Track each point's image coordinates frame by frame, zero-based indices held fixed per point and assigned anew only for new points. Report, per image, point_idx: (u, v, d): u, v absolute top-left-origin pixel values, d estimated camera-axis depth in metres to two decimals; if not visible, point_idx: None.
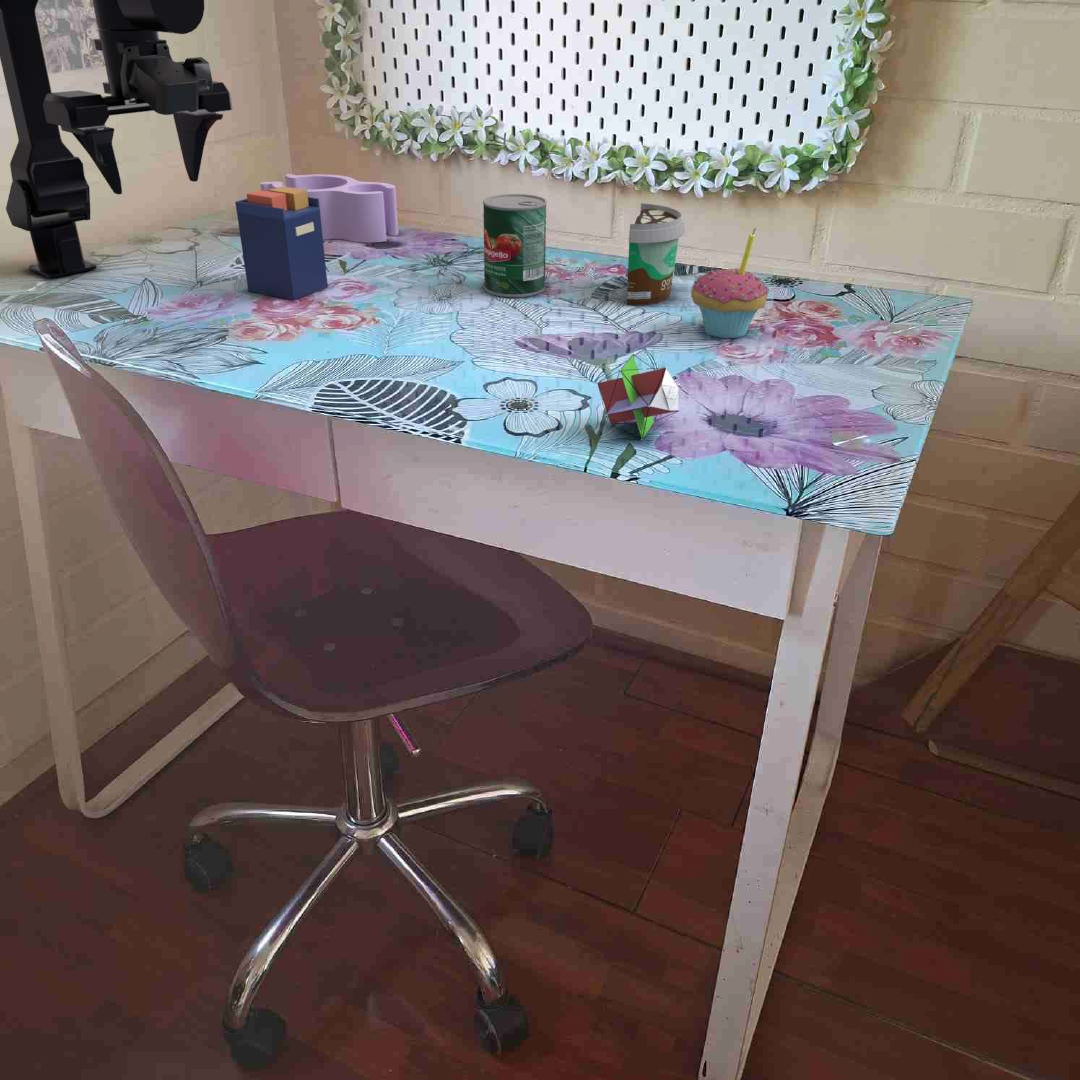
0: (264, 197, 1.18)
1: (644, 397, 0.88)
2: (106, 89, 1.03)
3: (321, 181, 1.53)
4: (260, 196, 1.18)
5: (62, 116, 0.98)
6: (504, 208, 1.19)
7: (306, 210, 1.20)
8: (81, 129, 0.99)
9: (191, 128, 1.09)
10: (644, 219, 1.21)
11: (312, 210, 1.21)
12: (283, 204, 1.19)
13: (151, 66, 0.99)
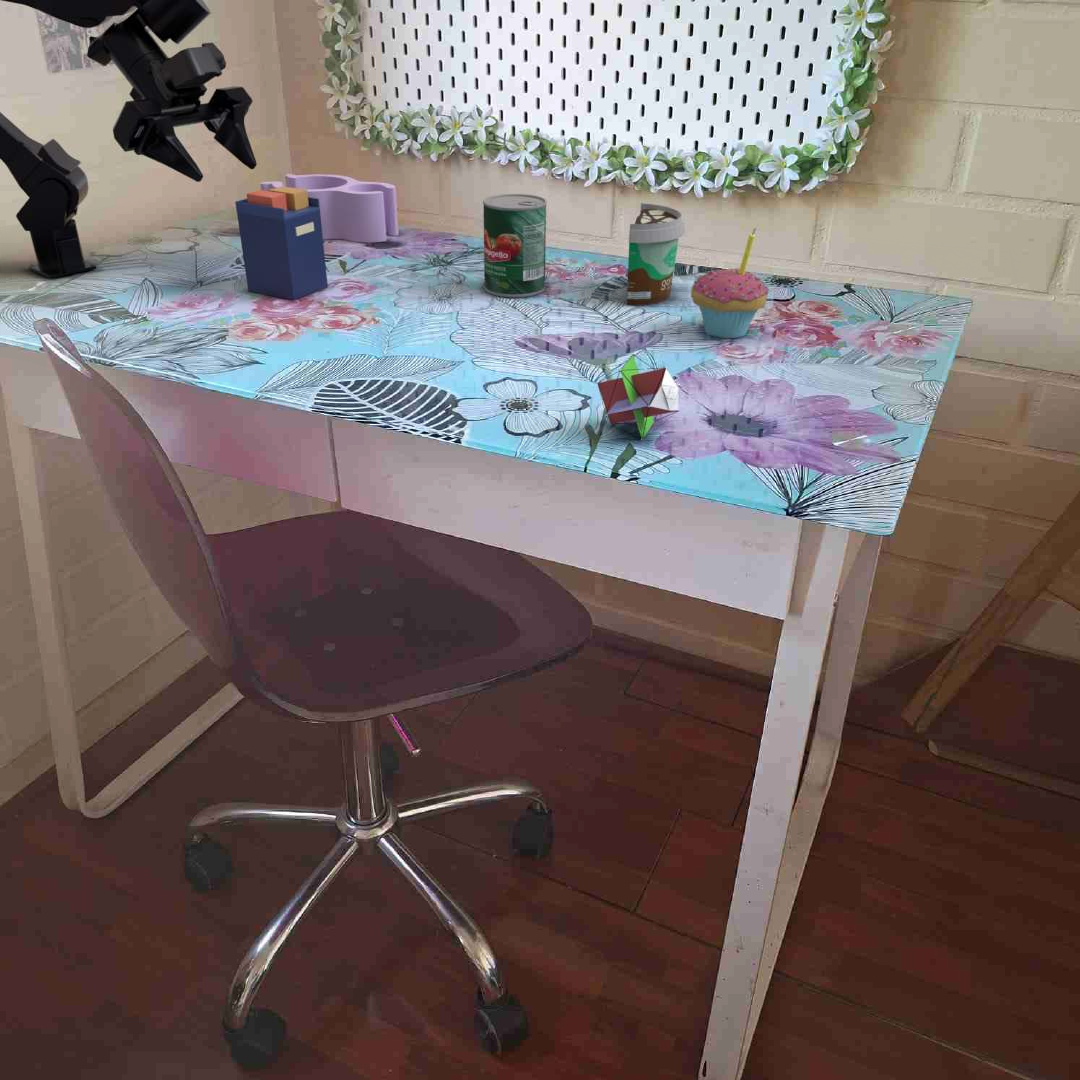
0: (264, 197, 1.18)
1: (644, 397, 0.88)
2: None
3: (321, 181, 1.53)
4: (260, 196, 1.18)
5: (129, 120, 1.14)
6: (504, 208, 1.18)
7: (306, 210, 1.20)
8: (147, 125, 1.15)
9: (230, 126, 1.25)
10: (644, 219, 1.21)
11: (312, 210, 1.21)
12: (283, 204, 1.19)
13: None
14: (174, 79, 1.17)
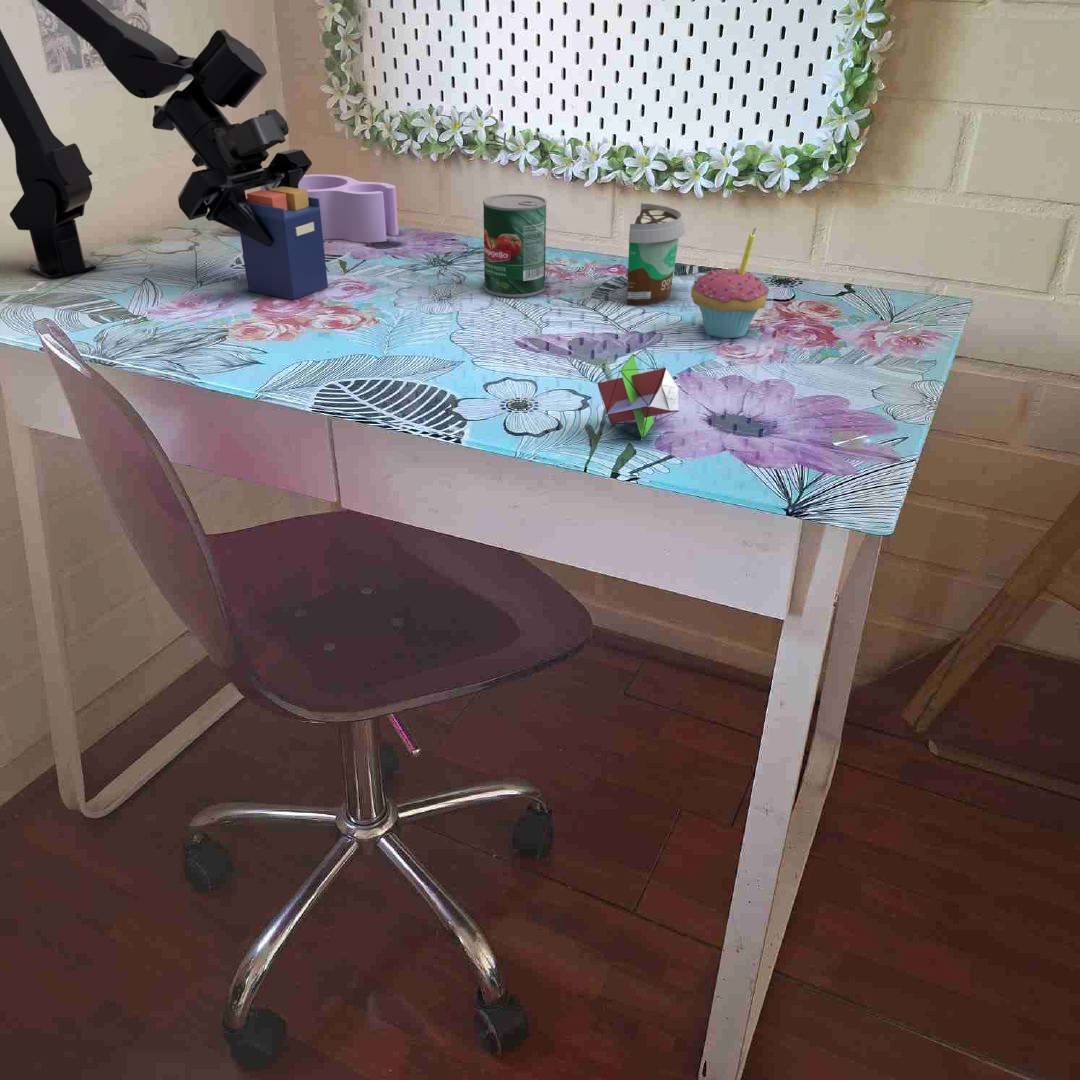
0: (264, 197, 1.18)
1: (644, 397, 0.88)
2: None
3: (321, 181, 1.53)
4: (260, 196, 1.18)
5: (195, 191, 1.14)
6: (504, 208, 1.18)
7: (306, 210, 1.20)
8: (220, 193, 1.15)
9: None
10: (644, 219, 1.21)
11: (312, 210, 1.21)
12: (283, 204, 1.19)
13: None
14: (238, 147, 1.17)
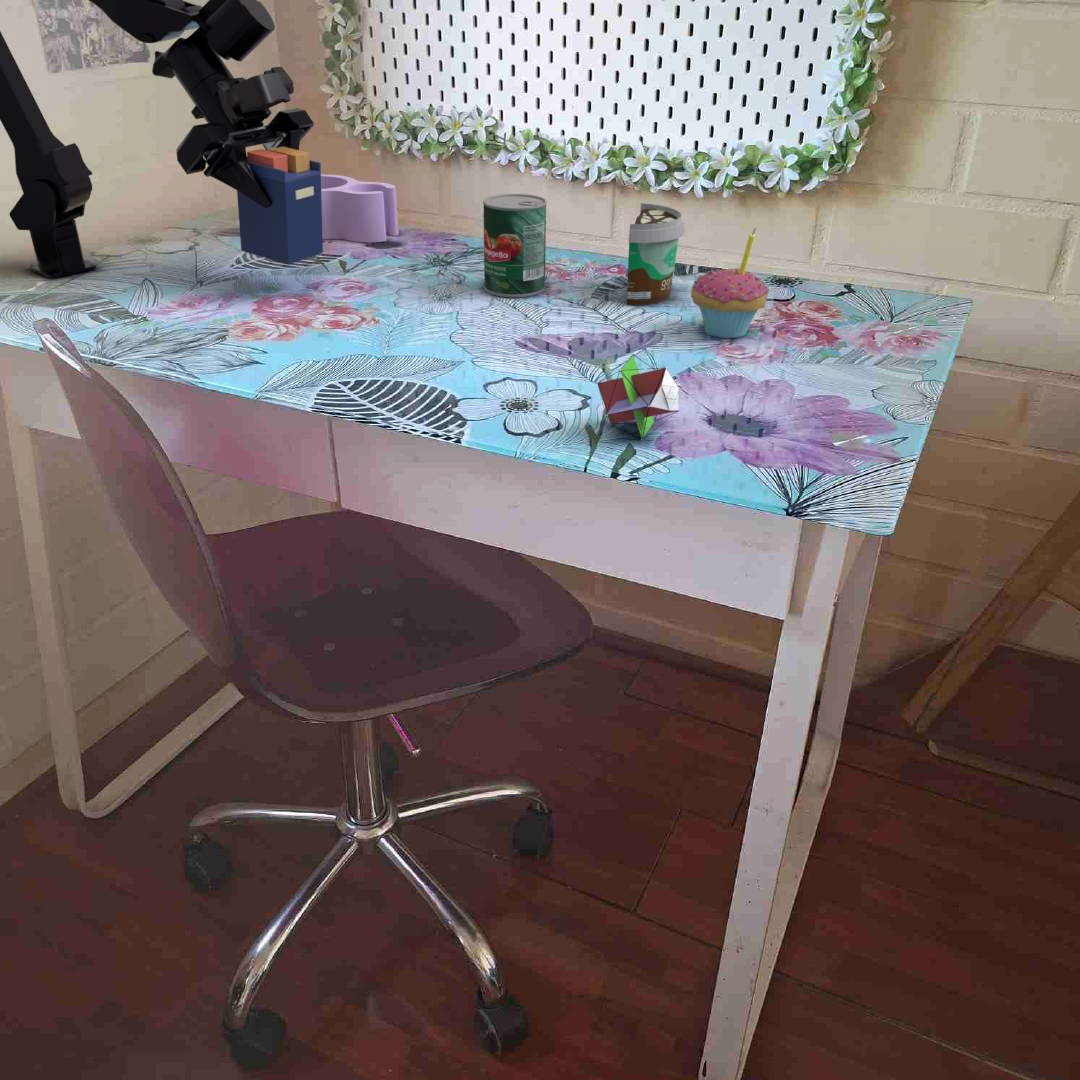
0: (265, 157, 1.15)
1: (644, 397, 0.88)
2: None
3: (321, 181, 1.53)
4: (261, 156, 1.16)
5: (195, 145, 1.11)
6: (504, 208, 1.18)
7: (307, 174, 1.18)
8: (221, 149, 1.13)
9: None
10: (644, 219, 1.21)
11: (313, 174, 1.19)
12: (284, 166, 1.17)
13: None
14: (242, 104, 1.14)
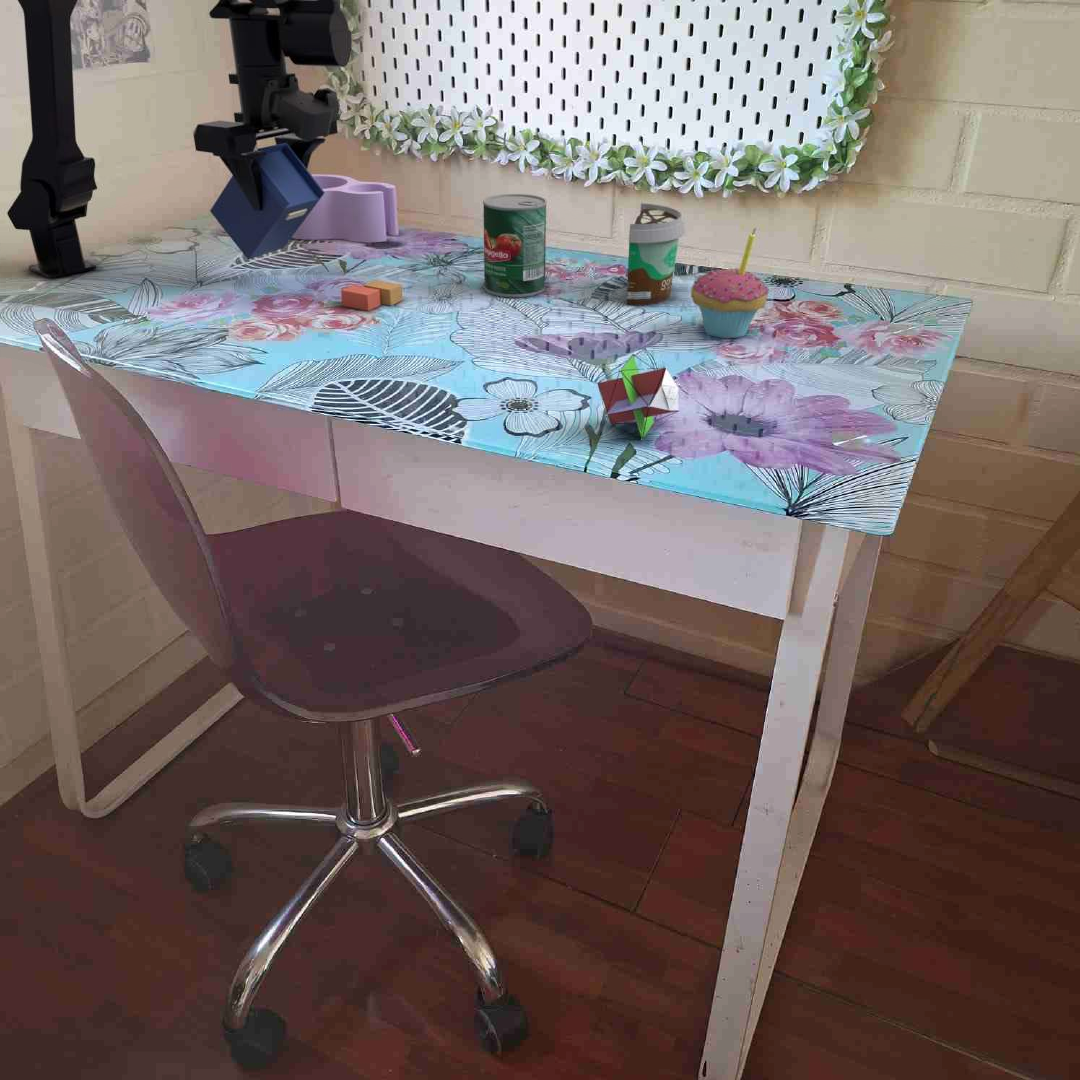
0: (349, 306, 1.20)
1: (644, 397, 0.88)
2: (238, 118, 1.15)
3: (321, 181, 1.53)
4: (353, 307, 1.20)
5: (219, 144, 1.09)
6: (504, 208, 1.18)
7: (307, 200, 1.20)
8: (240, 154, 1.11)
9: (297, 152, 1.20)
10: (644, 219, 1.21)
11: (313, 201, 1.20)
12: None
13: (291, 97, 1.12)
14: (282, 119, 1.12)
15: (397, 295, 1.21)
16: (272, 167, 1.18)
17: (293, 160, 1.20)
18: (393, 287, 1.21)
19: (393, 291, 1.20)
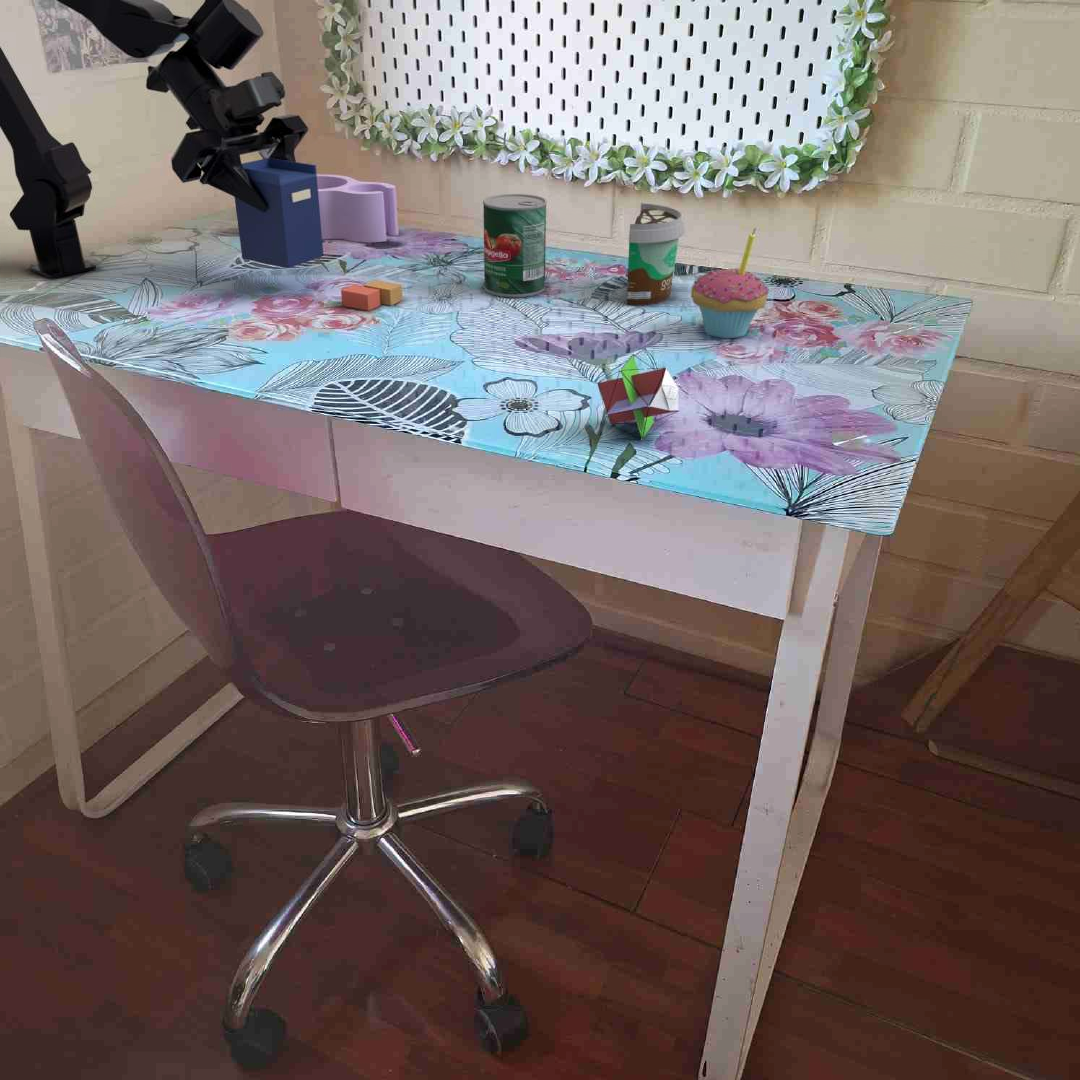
0: (349, 306, 1.20)
1: (644, 397, 0.88)
2: None
3: (321, 181, 1.53)
4: (353, 307, 1.20)
5: (189, 152, 1.11)
6: (504, 208, 1.18)
7: (303, 176, 1.18)
8: (214, 155, 1.13)
9: (280, 157, 1.22)
10: (644, 219, 1.21)
11: (309, 176, 1.19)
12: None
13: None
14: (234, 109, 1.14)
15: (397, 295, 1.21)
16: None
17: (280, 165, 1.22)
18: (393, 287, 1.21)
19: (393, 291, 1.20)
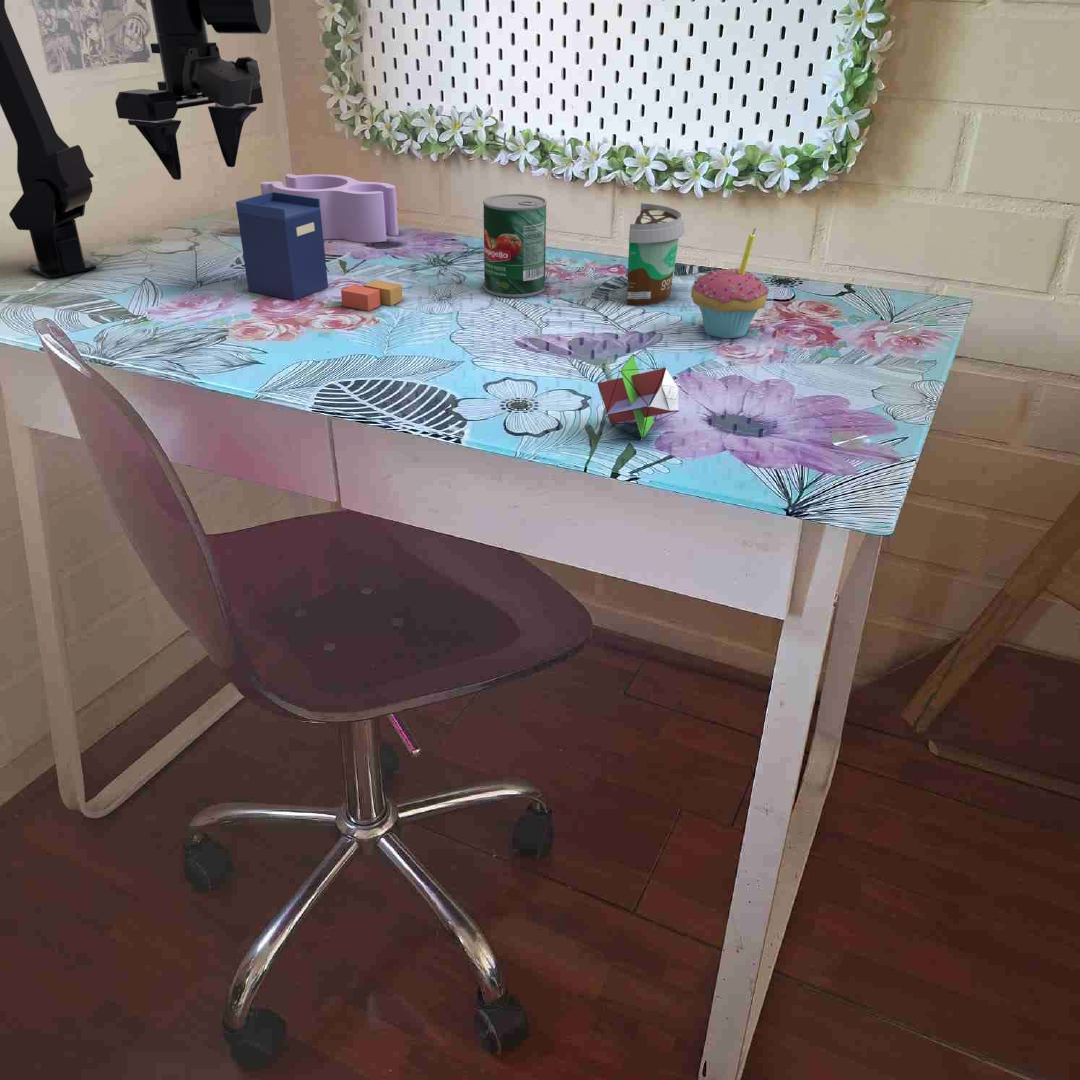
0: (349, 306, 1.20)
1: (644, 397, 0.88)
2: (161, 87, 1.18)
3: (321, 181, 1.53)
4: (353, 307, 1.20)
5: (139, 111, 1.12)
6: (504, 208, 1.18)
7: (307, 210, 1.20)
8: (154, 122, 1.13)
9: (230, 120, 1.24)
10: (644, 219, 1.21)
11: (313, 210, 1.21)
12: None
13: (211, 65, 1.15)
14: (202, 86, 1.15)
15: (397, 295, 1.21)
16: None
17: (284, 199, 1.24)
18: (393, 287, 1.21)
19: (393, 291, 1.20)
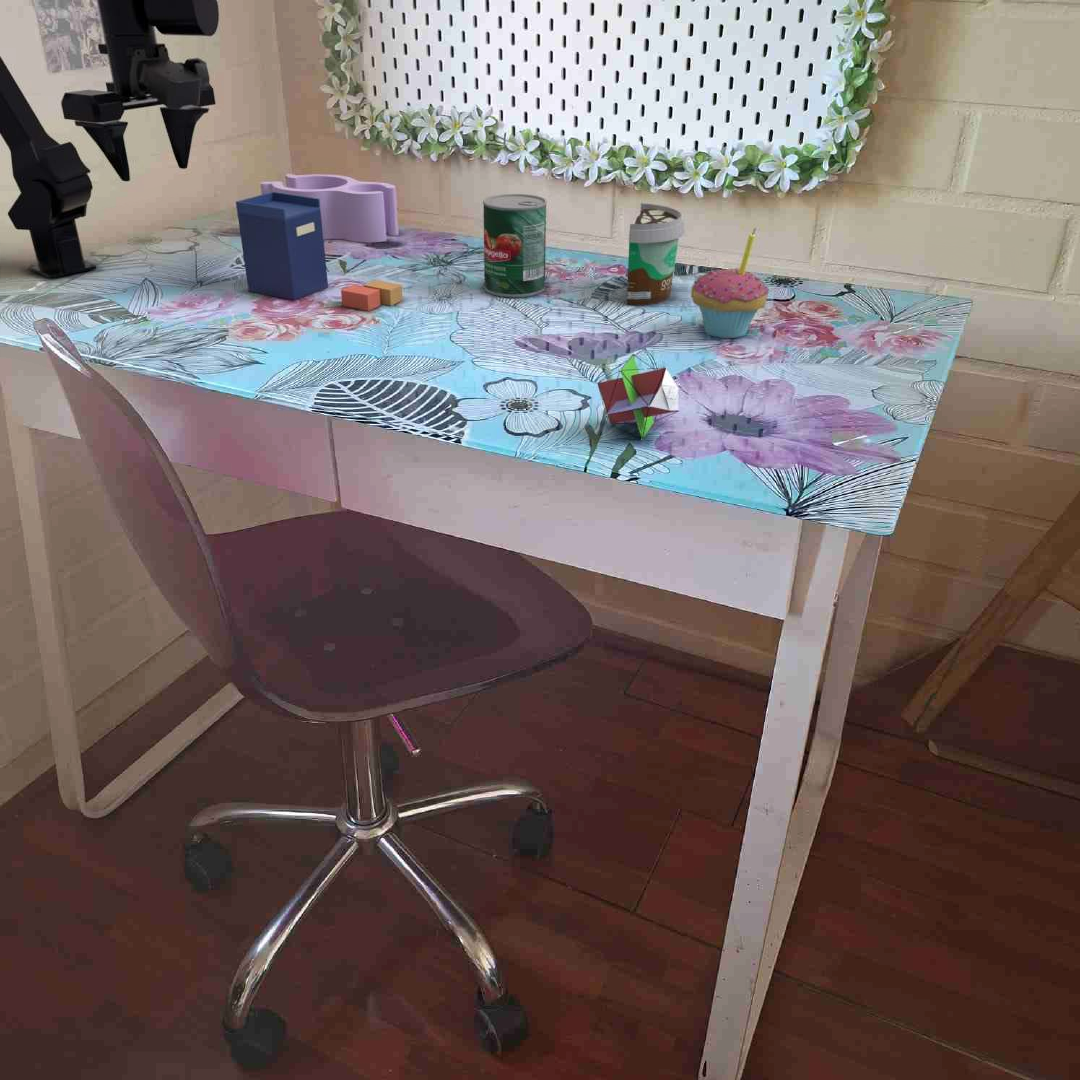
0: (349, 306, 1.20)
1: (644, 397, 0.88)
2: (109, 88, 1.17)
3: (321, 181, 1.53)
4: (353, 307, 1.20)
5: (84, 112, 1.11)
6: (504, 208, 1.18)
7: (307, 210, 1.20)
8: (100, 123, 1.13)
9: (181, 121, 1.23)
10: (644, 219, 1.21)
11: (313, 210, 1.21)
12: None
13: (158, 66, 1.14)
14: (150, 88, 1.14)
15: (397, 295, 1.21)
16: None
17: (284, 199, 1.24)
18: (393, 287, 1.21)
19: (393, 291, 1.20)
